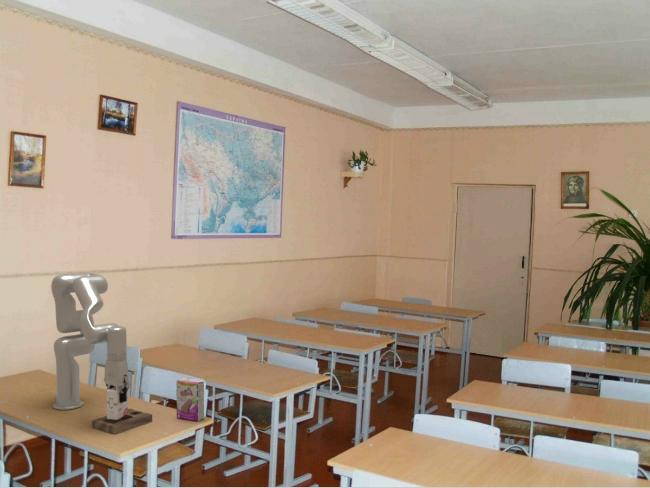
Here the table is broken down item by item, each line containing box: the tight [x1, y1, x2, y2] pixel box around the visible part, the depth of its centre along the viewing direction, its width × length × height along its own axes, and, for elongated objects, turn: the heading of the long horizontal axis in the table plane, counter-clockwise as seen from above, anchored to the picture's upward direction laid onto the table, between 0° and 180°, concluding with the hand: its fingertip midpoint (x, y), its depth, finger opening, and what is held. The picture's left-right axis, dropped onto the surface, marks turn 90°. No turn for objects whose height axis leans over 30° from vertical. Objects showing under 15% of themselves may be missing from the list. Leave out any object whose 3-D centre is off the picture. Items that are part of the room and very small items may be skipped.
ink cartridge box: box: [105, 384, 129, 420], centre depth 260 cm, size 9×5×15 cm, turn 167°
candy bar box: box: [176, 377, 205, 422], centre depth 270 cm, size 11×5×16 cm, turn 65°
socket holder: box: [91, 408, 153, 435], centre depth 263 cm, size 14×19×3 cm
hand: (117, 400), depth 260 cm, fingers closed on ink cartridge box, 6 cm apart
